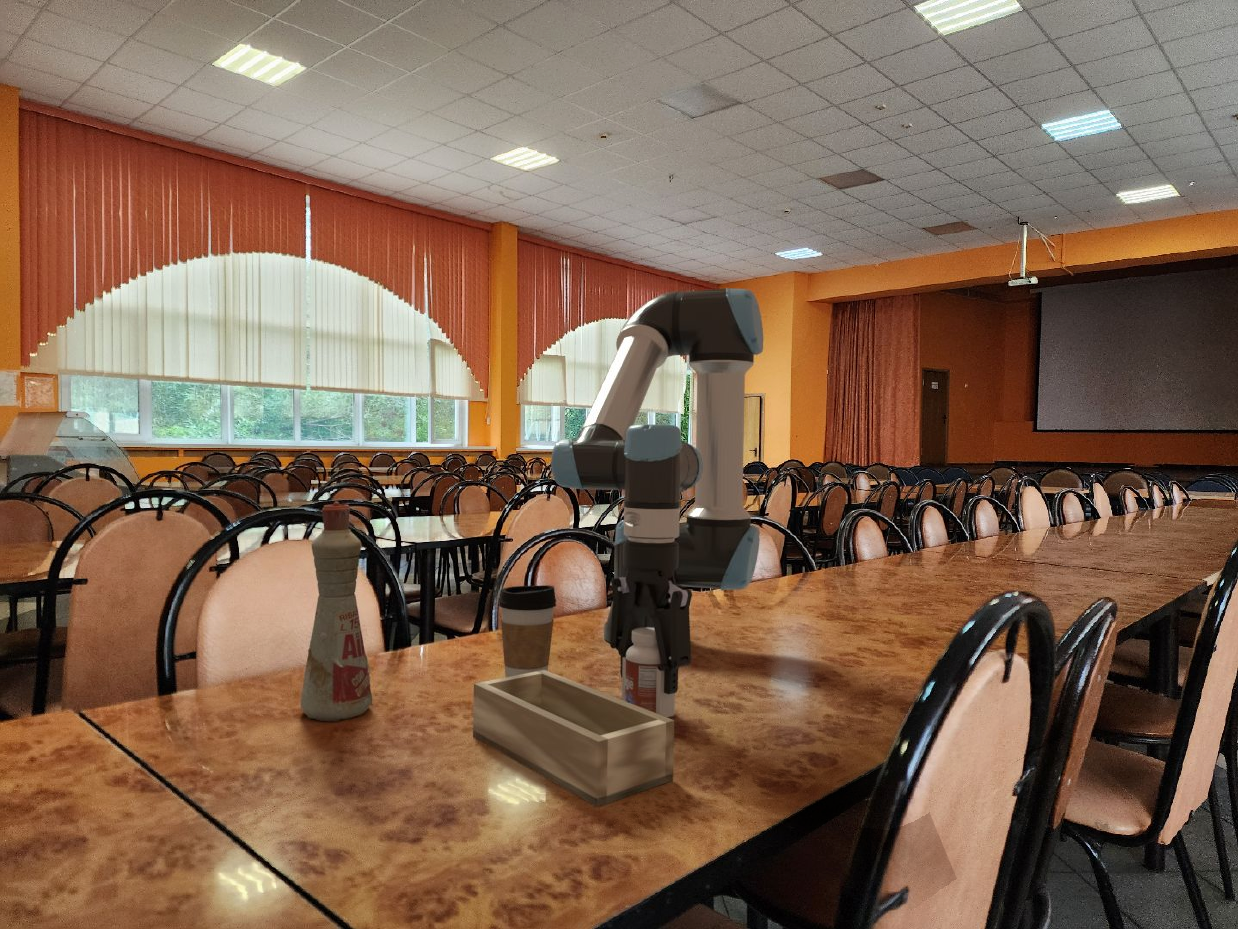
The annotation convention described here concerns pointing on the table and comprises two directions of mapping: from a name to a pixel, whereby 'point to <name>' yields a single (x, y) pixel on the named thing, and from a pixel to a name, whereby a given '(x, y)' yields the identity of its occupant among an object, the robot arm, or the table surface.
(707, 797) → the table surface
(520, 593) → the coffee cup
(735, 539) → the robot arm
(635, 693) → the pill bottle
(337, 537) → the bottle
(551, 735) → the wooden box
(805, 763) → the table surface
